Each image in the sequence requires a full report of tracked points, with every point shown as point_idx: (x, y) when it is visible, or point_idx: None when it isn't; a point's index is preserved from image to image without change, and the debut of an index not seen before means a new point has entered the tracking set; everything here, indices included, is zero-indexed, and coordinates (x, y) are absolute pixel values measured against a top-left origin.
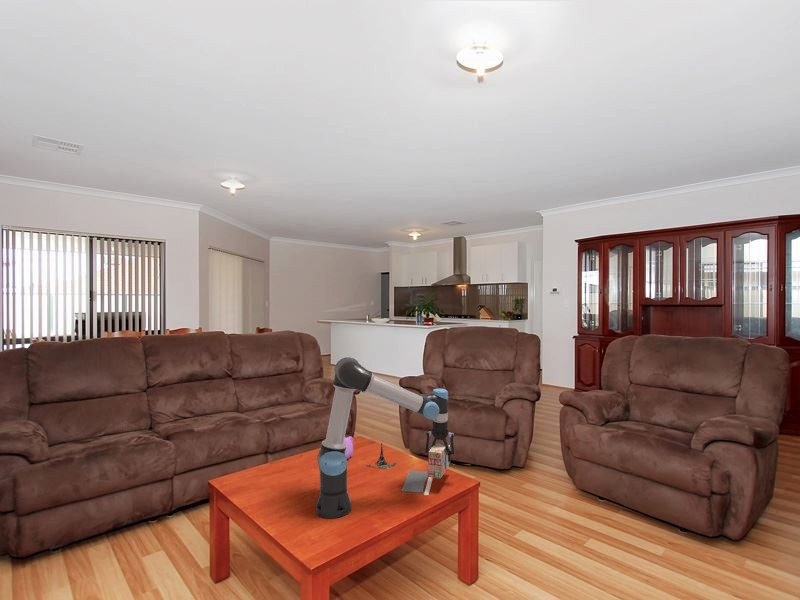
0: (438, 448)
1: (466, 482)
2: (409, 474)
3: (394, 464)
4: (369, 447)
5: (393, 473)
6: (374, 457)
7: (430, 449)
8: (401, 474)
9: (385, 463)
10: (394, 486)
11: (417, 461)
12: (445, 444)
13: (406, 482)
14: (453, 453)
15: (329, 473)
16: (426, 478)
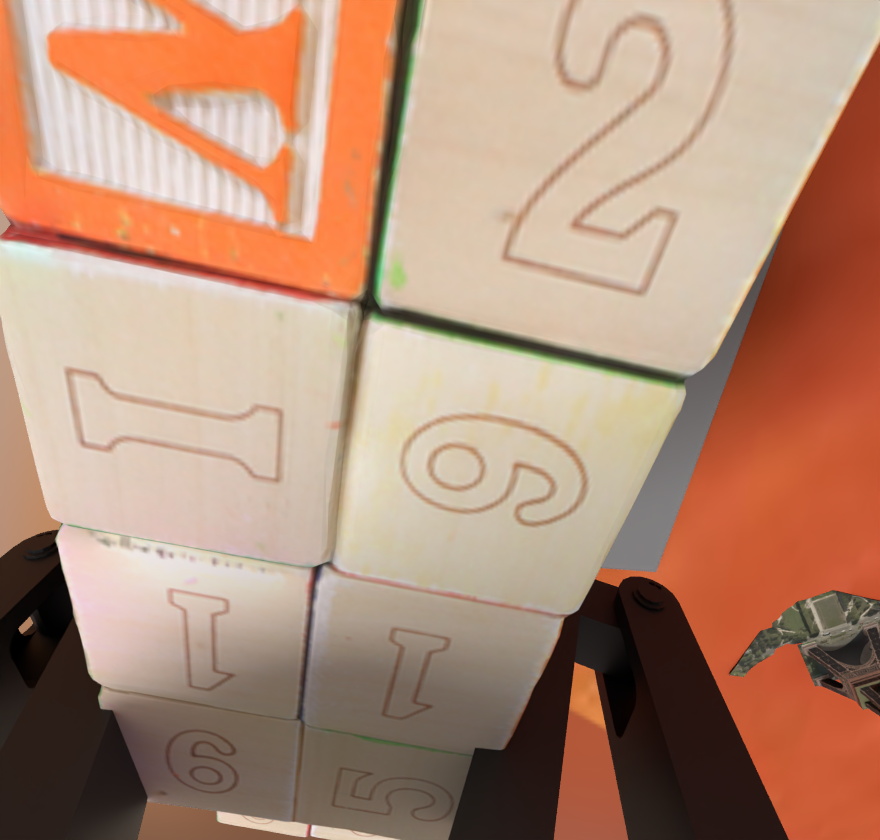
0: (285, 513)
1: None
2: (666, 509)
3: (750, 654)
4: (862, 831)
5: (791, 527)
6: (869, 732)
7: (684, 384)
8: (727, 515)
9: (826, 657)
10: (846, 280)
11: (577, 696)
12: (42, 789)
13: (719, 358)
14: (31, 539)
15: None
16: None
